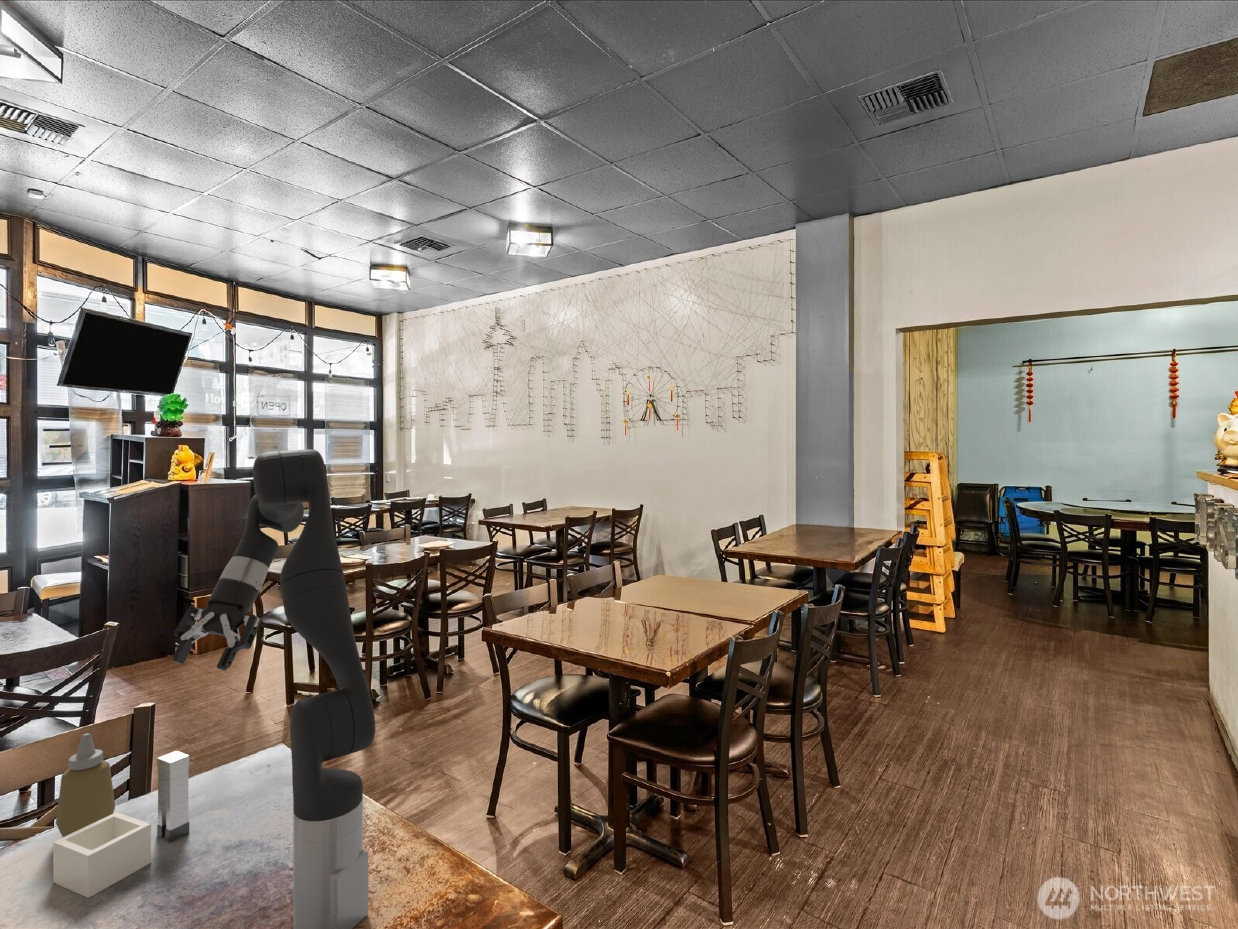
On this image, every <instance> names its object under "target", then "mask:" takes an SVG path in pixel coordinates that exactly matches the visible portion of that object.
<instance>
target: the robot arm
mask: <svg viewBox="0 0 1238 929" xmlns="http://www.w3.org/2000/svg"><path fill="white" fill-rule="evenodd" d="M252 478H253V480H252V481H253V487H254V492H255V494H254V495H253V496H252V497H251V499H250V501H249V504H248V505H247V506H248V507H247V512H246V513H247V514H246V522H245V526H244V530H243V533H242V536H241V538H240V541H239V543H238V545H237V547H236V549H235V550H234V552H233V555H232V557H231V559H230V560H229V562H227V564H226V566H225V568H224V569H223V571H222V573H221V575H220V577H219V579H218V581H217V583H216V585H215V586H214V588H213V591H212V592H211V594H210V596H209V599H208V604H207V606H206V607H205V608H204V609H203V608H197V607H196V606H194V605H190V606H189V607H188V608H187V609H186V612H184V614H183V616H182V618H181V620H179V623H178V625H177V626H176V628H175V629H174V631H173V635H174V636H175V637H177V638H178V639H179V640H180V641H179V644H178V646H177V648H176V650H175V652H174V654H173V657H172V658H173V662H174V663H177V664H180V665H183V664H185V661H186V660H187V658H188V655H189V654H190V652H191V650H192V648H193V646H194V643H195V642H196V641H198V640H199V639H200V638H203V637H206V636H207V635H209V634H210V635H214V636H216V635H219V636H222V637H225V639H226V643H227V647H225V648H224V650H223V652H222V655H221V656H220V658H219V661H218V663H217V665H216V668H217V669H218V670H220V671H224V672H225V671H227V669H229V668H230V667H231V666H232V664H233V662H234V660H235V658H236V655H237V653H238V652H239V651H240V650H249V649H251V648H252V646H253V643H254V640H255V638H256V636H257V633H258V631H259V628H260V625H261V623H262V619H261V618H259V617H258V616H257V615H255V614H250V615H248V612H251V609H252V608H253V606H254V603H255V602H256V600H257V597H258V595H259V594H260V593H259V592H260V591H261V589H262V587H263V585H264V582H265V580H266V578H267V574H268V571H269V569H270V568H271V565H272V562H273V560H274V558H275V557H276V554H277V552H278V549H279V543H278V541H277V540H276V539H275V538H272V537H271V536H269V535H268V534H267V533H265V532H264V531H262V529H261V528H260V526H263V527H266V528H270V529H273V530H275V531H278V532H280V533H291V532H293V531H295V530H297V529H298V527H299V526H300V525H301V523H302V522H303V519H304V515H305V514H304V513H305V508H304V503H308V504H309V511H308V515H307V519H306V521H305V523H304V526H303V528H302V531H301V533H300V535H299V537H298V539H297V540H296V542H295V544H294V545H293V546H292V548H291V551H290V552H289V554H288V555H287V557H286V560H285V561H284V563H283V565H282V568H281V570H280V575H279V584H280V591H281V592H280V593H281V597H282V598H281V599H282V604H283V605H282V606H283V609H284V612H283V613H284V615H285V617H286V619H287V621H288V623H289V625H291V626H292V628H293V629H294V630H295V631H296V632H297V633H298V634H299V635H300V636H301V637H302V638H303V639H304V640H305V641H306V642H307V643H308V644H309V645H311V647H313V649H315V651H316V652H317V653H318V654H320V655H321V657H322V658H323V659H324V660H325V662H326V663H327V665H328V667H329V668H330V670H331V672H332V674H333V676H334V679H335V681H336V685H337V687H338V689H337V690H333V691H328V692H324V693H320V694H316V695H315V694H314V695H311V696H307V697H303V698H300V699H298V700H297V701H296V702H295V703H294V705H293V707H292V709H291V712H290V713H291V714H290V719H289V734H290V735H289V736H290V738H289V739H290V751H291V752H290V753H291V769H292V770H291V771H292V772H291V775H292V776H291V778H292V779H291V780H292V800H293V801H292V802H293V803H292V806H293V809H292V810H293V815H292V816H293V820H292V821H293V823H292V825H293V828H292V829H293V833H292V838H293V839H292V840H293V841H292V842H293V843H292V846H293V847H292V850H293V851H292V852H293V853H292V854H293V855H292V857H293V859H292V866H293V867H292V868H293V869H292V877H293V878H292V887H293V888H292V906H293V909H292V912H293V913H292V923H293V924H292V925H293V926H292V929H354V928H355V927H356V926H357V925H358V924H359V923H360V922H361V921H363V920H364V919H365V918H366V917H367V916H368V915H369V853H368V851H367V850H364V849H363V846H364V845H363V842H364V841H363V839H364V837H363V836H364V835H363V834H364V833H363V832H364V830H363V826H364V823H363V820H364V818H363V817H364V814H363V812H364V809H363V808H364V799H363V798H364V784H363V780H362V777H361V776H360V775H359V774H358V773H357V772H354V771H351V770H348V769H341V768H329V767H327V768H326V767H322V765H323V763H324V762H327V761H331V760H334V759H337V758H341V757H344V756H347V755H351V754H354V753H357V752H360V751H364V750H365V749H369V747H371V745H372V744H373V742H374V740H375V736H376V717H375V711H374V710H375V709H374V704H373V701H372V696H371V694H370V689H369V686H368V682H367V679H366V676H365V675H366V674H365V672H364V669H363V664H362V660H361V657H360V652H359V650H358V646H357V641H356V637H355V631H354V626H353V621H352V614H351V610H350V609H351V608H350V604H349V602H350V601H349V597H348V596H349V595H348V590H347V585H346V579H345V578H346V577H345V574H344V568H343V566H342V565H343V564H342V560H341V557H340V552H339V548H338V547H339V546H338V544H337V538H336V534H335V528H334V522H333V513H332V507H331V497H330V491H329V483H328V475H327V470H326V464H325V460H324V458H323V455H322V454H321V453H320V452H319V451H318V450H317V449H309V448H308V449H305V448H304V449H291V450H279V451H277V450H276V451H268V452H264V453H261V454H259V455H258V456H257V457H256V458H255V460H254V462H253V467H252ZM197 621H198V622H197ZM243 625H244V629H243V630H242V633H241V635H240V631H239V630H240V629H239V628H240V627H242V626H243Z"/></svg>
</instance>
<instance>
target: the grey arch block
mask: <svg viewBox="0 0 1238 929" xmlns="http://www.w3.org/2000/svg"><path fill="white" fill-rule="evenodd" d="M189 765H190V755H189V754H186V753H184V752H181V751H178V750H174V751H172V752H169V753H166V754H164V755H161V756H159V757H157V758H156V767H157V825H156V837H157V838H160V839H163V838H165V839H164V840H165V841H166V842H167V843H173V842H174V841H176V840H179V839H180V838H182V837H184V836H187V835H188V834H190V821H189Z"/></svg>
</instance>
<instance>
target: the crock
mask: <svg viewBox="0 0 1238 929" xmlns="http://www.w3.org/2000/svg"><path fill="white" fill-rule="evenodd" d="M52 843H53V844H52V847H53V848H52V850H53V852H52V853H53V854H52V855H53V858H52V859H53V862H52V863H53V864H52V865H53V866H52V867H53V869H52V870H53V876H52V877H53V883H54V884H55V883H56V884H55V885H58V886H60V887H62V888H64V889H67V890H69V891H71V892H74V893H76V894H78V895H81V896H83V897H85V898H88V899H89V898H91V897H92V896H95V895H96V894H98V893H100V892H101V891H103V890H105V889H107V888H109V887H111V886H113V885H114V884H116V883H118V882H119V881H121V880H123V879H125V878H126V877H128V876H130V875H132V874H134V873H135V872H137V871H139V870H141V869H143V868H144V867H146V866H147V865H149V864H151V863H152V824H151V823H149V822H147V821H143V820H141V819H138V818H135V817H132V816H129V815H126V814H123V813H120V812H118V811H117V812H115V813H114V812H113V814H112V815H110V816H107V817H105V818H103V819H101V820H99V821H97V822H95V823H93V824H90V825H88V826H86V827H84V828H82V829H80V830H78V831H76V832H73V833H71V834H69V835H67V836H65V837H62V838H59V839H56V840H54V841H53V842H52Z"/></svg>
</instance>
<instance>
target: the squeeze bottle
mask: <svg viewBox="0 0 1238 929" xmlns="http://www.w3.org/2000/svg"><path fill="white" fill-rule="evenodd" d="M76 752H77V753H76V754H73V755H71V756H70V757H69V759H68V768H67V769H66V770H65V771H64V772H63V773H62V775H61V779H60V788H59V793H58V794H59V796H58V802H57V811H56V817H55V818H56V819H55V824H56V827H57V828H58V831H59V832H60V834H61V837H62V838H63V837H65V836H67V835H69V834H71V833H73V832H76V831H78V830H80V829H82V828H84V827H86V826H88V825H90V824H93V823H95V822H97V821H99V820H101V819H103V818H105V817H107V816H110V815H112V814H114V811H115V809H116V802H115V801H116V800H115V795H114V794H115V793H114V787H113V779H112V772H111V766H110V763H109V762H108V761H106V760H104V751H103V750H102V749H98V748H97V749H96V748H95V745H94V742H93V738H92V735H91V733H84V734H82V735H81V737H80V741H79V745H78V749H77V751H76Z"/></svg>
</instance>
